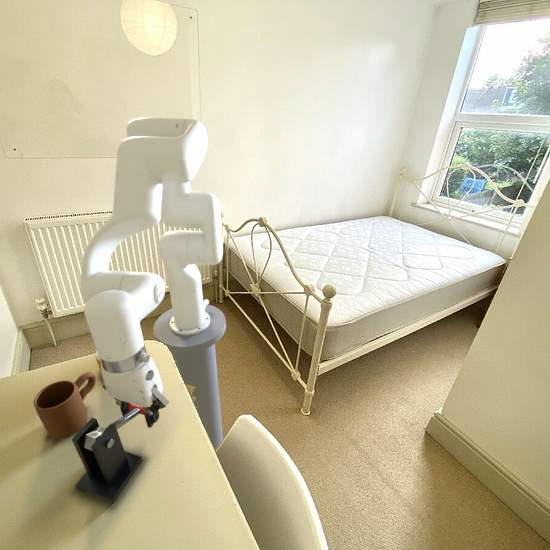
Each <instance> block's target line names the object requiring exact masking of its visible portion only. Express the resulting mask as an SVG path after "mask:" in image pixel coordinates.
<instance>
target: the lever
mask: <svg viewBox="0 0 550 550" xmlns="http://www.w3.org/2000/svg"><path fill="white" fill-rule="evenodd" d="M127 410H129V411H130V412H129V413H127V414H126V415H124V416H123V415H122V416H121V417H120V418H118V419H117V420H115V421H114V422H112V423H111V424H113V425H115V426H116V428H117V430H119V429H120V428H122V427H124V425H126V424H127V423H129V422H130V421H131V420H133V419H134V418H136V417H137V416H139V415H142V416H145V414H146V412H145V410H144V409H143V407H141V406H138V405H134V404H131V403H129V405H128V406H127ZM107 428H108V426H106V427H101V426H100V427H97V428H95V429H94V430H92V431H91V432H89V433H88V434H86V436H85V445H84V448H86V449H89V450H91V451H93V450H92V448H91V446H92V445H93V444H94V443H95V442H96V440H97V439H98V438H99V437H100V436H101V435H102V433H103V432H104V431H105V430H106V429H107Z"/></svg>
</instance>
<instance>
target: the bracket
mask: <svg viewBox="0 0 550 550" xmlns="http://www.w3.org/2000/svg"><path fill="white" fill-rule="evenodd" d="M97 427H101V426H100V424H99V422H98V418H96V417H95V418H94V417H91V418H90V419H89V420H88V421H86V422H85V424H84V425H83V426H82V428H81V429H80V430H78V431H77V432H76V433H75V435H74V436H73V437H72V438H71V442H72V444H73V447H74V448H75V451H76V453H77V455H78V457H79V459H80V461H81V463H82V465H83V467H84V469H85V471H86V472H85V473H84V474H83V475H82V477H81V478H80V479H79V480H78V482H77V483H76V484H75V489H76V490H78V491H80V492H84V493H86V494H88V495H90V496H93V497H94V498H97V499H100V500H102V501H105V502H107V503H109V504H112V505H113V504H115V502H116V501H117V499H118V498H119V496H120V495H121V494H122V492H123V491H124V489H125V488H126V486H127V484H128V483H129V481H130V480H131V478H132V477H133V475H134V474H135V473H136V471H137V470H138V468H139V467H140V465H141V464H142V462H143V457H142V456H140V455H137V454H134V453H131V452H129V451H125V449H124V448H125V447H124V445H123V443H122V440H121V437H120V434H119V431H118V429H117V428H116V426H115V425H113V424H112V423H110V424H109V425H107V427H108V428H107V429H106V430H105V431H104V432H103V433H102V435H101V436H100V437H99V438H98V439H97V440H96V442H95V443H94V444H93V445H92V446H91V448H92V450H93V451H91V450H89V449H86V448H84V445H85V436H86V434H88V433H89V432H91V431H92V430H94V429H95V428H97Z"/></svg>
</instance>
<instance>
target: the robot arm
mask: <svg viewBox="0 0 550 550" xmlns="http://www.w3.org/2000/svg"><path fill="white" fill-rule="evenodd" d="M126 136H127V137H126V138H124V139H122V140H121V141H120V143H119V144H118V147H117V152H116V163H115V164H116V165H115V178H114V191H113V204H112V213H111V215H110V216H109V218H108V219H107V220H106V221H105V222H104V223H102V224H101V226H100V227H99V228H98V229H97V230H96V232H95V233H94V235H93V236H92V237H91V239H90V240H89V242H88V244H87V246H86V247H85V250H84V253H83V256H82V261H81V262H82V263H81V273H80V274H81V275H80V292H81V297H82V300H83V302H84V303H85V304H84V308H83V313H84V317H85V320H86V323H87V325H88V329H89V332H90V336H91V337H92V341H93V343H94V346H95V350H96V349H97V350H96V351H97V352H98V355H99V358H100V361H101V371H102V375H101V377H102V379H103V385H102V389H104V390H105V391H106V392H107V394H108V395H109V396H110V397H111V398H113V399H114V400H115V405H116V406H118V407H119V409H120V412H121V415H122V417H123V416H124V415H126V414H127V413H129V412H130V411H129V410H127V406H128V405H129V403H131V404H134V405H138V406H141V407H143V409H144V410H145V412H146V414H145V415H144V419H145V423H146V426H147V428H148V429H151V428H152V427H153V426H154V424H156V423H157V422H158V421H159V419H160V411H159V410H162V409H165V408H167V406H168V404H169V403H170V401H169V399H168V398H167V397H166V396H165V395H164V394H163V391H164V387H163V383H162V378H161V376H160V373H159V370H158V368H157V366H156V363H155V361H154V359H153V357H151V355H149V354H147V353H148V352H147V349H146V344H145V340H144V336H143V332H142V327H141V321H142V320H143V319H145V318H146V317H147V316H148V315H149V314H151V313H152V312H153V311H154V310H156V309H157V307H158V306H159V305H160V304H161V303H162V302H163V300H164V298H165V294H166V283H165V281H164V279H163V278H162V277H161V276H160V275H159V274H157V273H154V272H148V271H131V270H130V271H129V270H110V261H111V257H112V255H113V253H114V251H115V250H116V248H117V247H118V246H119V245H120V244H121V243H123V242H124V241H126V240H127V239H128V238H130V237H132V236H135V235H137V234H138V233H142V232H143V231H146V230H149V229H151V228H154V227H156V226H157V225H158V224H159V223H160V222H162V224H163V225H165V226H167V227H171V228H181V229H200V230H181V229H180V230H179V229H177V230H175V229H174V230H168V231H166V232H164V233H163V234H161V236H160V237H159V240H158V252H159V256H160V258H161V260H162V263H163V265H164V268H165V273H166V278H167V284H168V290H169V291H168V292H169V297H170V303H171V309H173V315H174V316H173V317H172V319H171V320H170V328H171V330H172V331H173V332H174V333H176V334H179V335H194V334H197V333H200V332H202V331H203V330H205V329H206V328H207V327H208V326H209V324H210V317H209V315H208V314H207V313H206V312H205V308H206V306H207V305H210V301H209V299H207V298H205V299H204V297H203V286H202V285H203V284H202V276H201V272H200V270H199V268H198V266H217V265H219V264H220V262H221V261H222V260H223V255H224V241H223V240H224V239H223V238H224V237H223V223H222V209H221V203H220V200H219V198H218V197H217V196H216V195H215V194H214V193H212V192H206V191H192V189H191V181H193V179H195V177H196V175H197V173H198V171H199V169H200V167H201V165H202V163H203V161H204V159H205V157H206V155H207V150H208V145H209V142H208V141H209V140H208V133H207V130H206V128H205V126H204V124H203V123H202V122H201V121H199V120H197V119H192V118H191V119H190V118H175V117H173V118H172V117H171V118H170V117H153V116H152V117H149V116H148V117H147V116H146V117H145V116H144V117H138V118H137V117H136V118H134V119H131V120H129V121H128V122H127V124H126Z"/></svg>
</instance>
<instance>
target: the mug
mask: <svg viewBox="0 0 550 550" xmlns="http://www.w3.org/2000/svg"><path fill="white" fill-rule="evenodd" d="M86 381H87V383H86V384H85V382H86ZM96 382H97V376H96V374H95V373H94V372H91V371H87V372H84V373H82V374H81V375H79V376H78V378H77V379H76V380H75V381H74V382H73V381H71V380H58V381H55V382H52V383H50V384H48V385H46V386H45V387H43V388H42V389H41V390H40V391H39V392H38V393H37V394H36V395H35V397H34V400H33V407H34V409H35V412H36V414H37V416H38V418H39V419H40V422H41V423H42V425H43V427H44V429H45V430H46V432H47V434H48V435H49V436H50V437H51V438H54V439H64V438H68V437H70V436H73V435H74V434H77V433H78V432H79V431H80V430H81V429H82V428H83V427H84V426H85V425H86V423H87V420H88V411H87V408H86V405H85V403H84V401H85V398H86V397H87V395H88V394H89V393H91V391H92V390H93V389H94V387H95V385H96ZM84 384H85V385H84ZM83 385H84V386H83ZM82 386H83V387H82ZM81 387H82V388H81ZM80 388H81V389H80Z"/></svg>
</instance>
